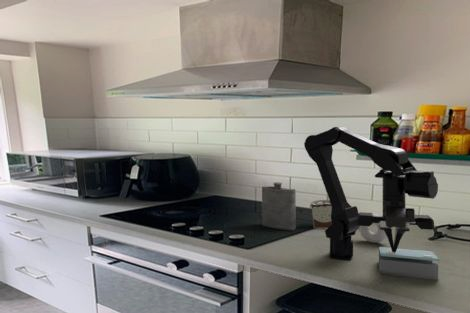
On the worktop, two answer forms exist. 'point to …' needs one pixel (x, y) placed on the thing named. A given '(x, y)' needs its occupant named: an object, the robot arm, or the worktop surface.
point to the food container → (321, 213)
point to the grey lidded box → (408, 267)
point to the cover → (408, 254)
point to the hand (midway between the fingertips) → (393, 252)
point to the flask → (279, 207)
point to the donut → (370, 236)
